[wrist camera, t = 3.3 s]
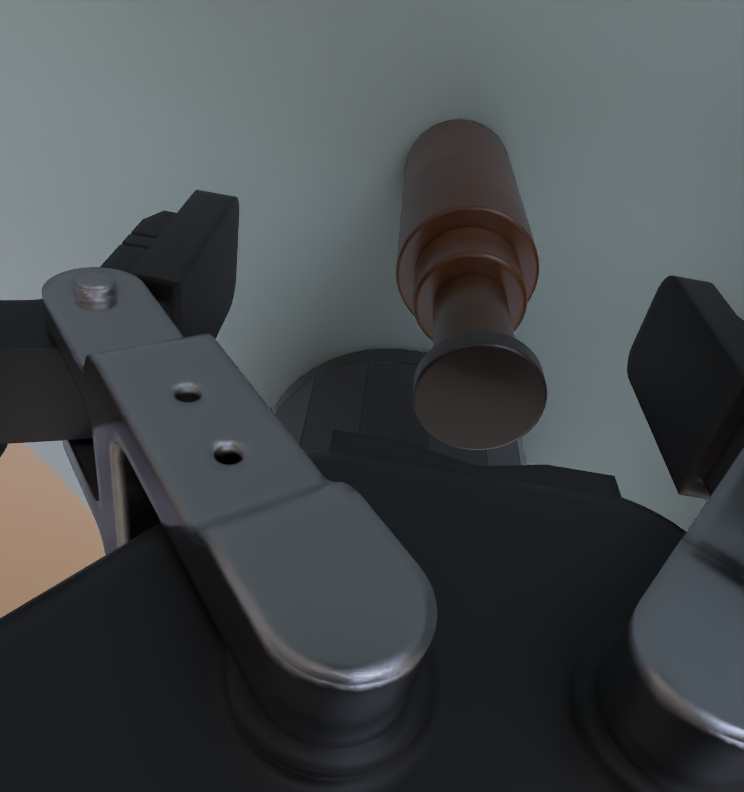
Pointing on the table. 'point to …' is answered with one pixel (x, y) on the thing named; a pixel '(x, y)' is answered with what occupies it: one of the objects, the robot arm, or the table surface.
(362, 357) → the mug
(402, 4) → the table surface
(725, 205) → the table surface
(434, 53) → the table surface
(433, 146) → the bat
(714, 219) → the table surface
